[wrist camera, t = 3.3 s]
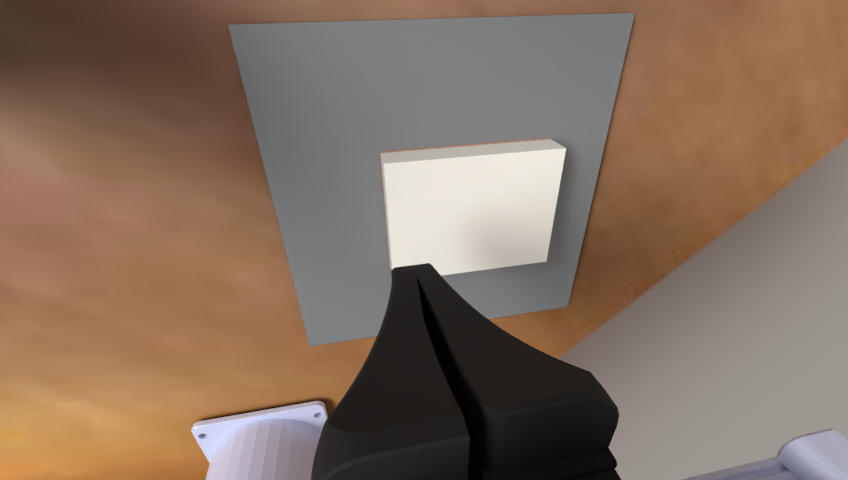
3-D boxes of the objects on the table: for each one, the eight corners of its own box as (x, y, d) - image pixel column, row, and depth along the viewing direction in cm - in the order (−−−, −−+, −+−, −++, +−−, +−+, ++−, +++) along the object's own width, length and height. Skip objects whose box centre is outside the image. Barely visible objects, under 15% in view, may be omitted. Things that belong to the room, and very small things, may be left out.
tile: (389, 263, 20) (533, 245, 21) (393, 282, 18) (546, 261, 19) (380, 151, 17) (549, 138, 18) (383, 163, 15) (566, 148, 16)
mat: (564, 302, 24) (567, 306, 24) (310, 341, 22) (309, 346, 21) (628, 13, 16) (635, 13, 16) (230, 24, 14) (227, 24, 13)
